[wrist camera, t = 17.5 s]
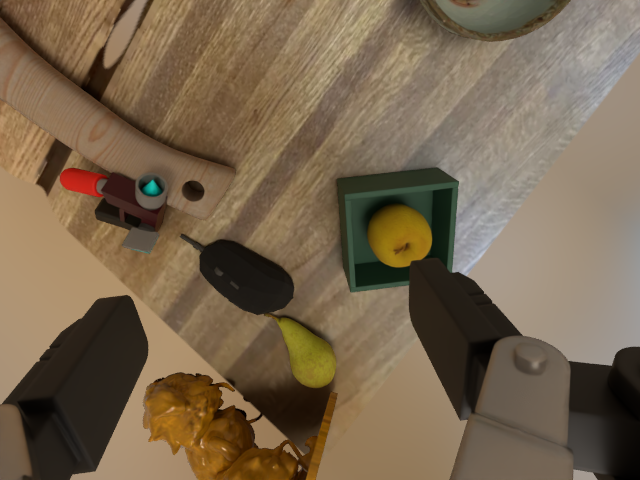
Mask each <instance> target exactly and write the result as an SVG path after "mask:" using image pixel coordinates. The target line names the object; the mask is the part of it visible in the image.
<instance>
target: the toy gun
mask: <svg viewBox="0 0 640 480" xmlns="http://www.w3.org/2000/svg"><path fill="white" fill-rule="evenodd" d="M60 182H61V184H62V185H63V187H65V188H66V189H68V190H71V191H75V192H80V193H84V194H88V195H93V196H97V197H102V196H104V197H105V198H103V199H102V200H101V202H100V203H99V205H98V206H97V208H96V209H95V215H96V218H97V219H98V220H100V221H103V222H106V223H110V224H113V225H116V226H119V227H122V228H125V229H128V230H130V232H129V233H128V235H127V237H126V239H125V240H124V242H123V244H122V246H123V247H125V248H129V249H132V250H136V251H141V252H145V253H150V252H151V250H152V248H153V246H154V245H155V243H156V241H157V239H158V237H159V234H158V233H157V232H158V230H159V228H160V226H161V224H162V223H163V217H164V211H165V207H166V203H167V198H168V196H166V195H167V189H168V184H167V182H166V180H165V179H164V178H163V177H162V176H161V175H159V174H157V173H153V172H148V173H144V174H142V175H140V176H139V177H138V178H137V180H136V182H134V181H132V180H129V179H127V178H125V177H123V176H120V175H118V174H116V173H114V172H112V174H111V175H110V177H109V178H107V176H105V175H103V174H99V173H94V172H90V171H85V170H81V169H76V168H68V169H66V170H64V171H63V172H62V173H61V175H60Z"/></svg>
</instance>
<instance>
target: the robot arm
mask: <svg viewBox="0 0 640 480" xmlns="http://www.w3.org/2000/svg"><path fill="white" fill-rule="evenodd" d="M409 312H410V318H411V321H412V324H413V327H414V329H415V331H416V333H417V335H418V337H419V339H420V341H421V343H422V345H423V347H424V349H425V351H426V353H427V355H428V357H429V359H430V361H431V363H432V365H433V367H434V369H435V371H436V373H437V375H438V377H439V379H440V381H441V383H442V385H443V387H444V389H445V391H446V393H447V395H448V397H449V399H450V401H451V403H452V405H453V407H454V409H455V411H456V413H457V415H458V417H459V419H460V420H468V421H467V424H466V427H465V430H464V434H463V437H462V441H461V444H460V447H459V450H458V453H457V457H456V460H455V463H454V467H453V470H452V473H451V476H450V480H573V469H576V470H582V471H587V472H593V473H594V475H595V476H596V478H597V479H598V480H640V347H628V348H624V349H621V350H620V351H618V352H617V353H616V355H615V358H614V361H613V364H612V366H608V365H599V364H589V363H580V362H572V361H568V360H567V359H566V357H565V356H564V355H563V354H562V353H561V352H560V351H559V350H558V349H556V348H555V347H553V346H552V345H550V344H548V343H546V342H544V341H541V340H539V339H536V338H531V337H526V336H523V335H522V334H521V333H520V332H519V331H518V330H517V329H516V328H515V326H514V325H513V324H512V323H511V322H510V321H509V320H508V319H507V317H506V316H505V315H504V314H503V313H502V312H501V311H500V310H499V309H498V307H497V306H496V305H495V304H493V303H492V300H491V299H490V298H489V297H488V296H487V295H486V294H484V291H483V290H482V289H481V288H480V287H479V286H478V285H477V283H476V282H475V281H474V280H472V279H470V278H468V277H466V276H465V275H463V274H461V273H459V272H455V273H450V272H449V270H448V269H447V268H446V267H445V265H444V264H443V263H442V262H441V260H440V259H439V258H430V259H422V260H414V261H411V263H410V271H409ZM147 356H148V341H147V337H146V334H145V332H144V329H143V326H142V323H141V321H140V318H139V315H138V312H137V310H136V307H135V304H134V302H133V300H132V299H131V297H130V296H128V295H124V296H117V297H108V298H100V299H98V300H96V301H95V302H94V304H93V305H92V306H91V308H90V309H89V310H88V311H87V313H86V314H85V315H84V316H83V318H82V319H78V320H77V321H76V322H74V323H73V324H72V325H70V326H69V327H68V328H66V329H65V330H64V331H62V332H61V333H60V334H59V336H58V337H57V338H56V339H55V340H54V342H53V343H52V344H51V345H50V349H47V350H46V351H45V352H44V354H43V355H42V356H41V357H40V361H39V362H36V363H35V365H34V366H33V367H32V368H31V370H30V371H29V372H28V373H27V374H26V375H25V377H24V378H23V379H22V380H21V382H20V383H19V384H18V385H17V386H16V388H15V389H14V390H13V391H12V392H11V394H10V395H9V396H8V397H7V398H6V400H5V401H4V402H3V403H2V404H1V405H0V480H70V478H71V476H72V474H79V473H86V472H93V471H96V469H97V467H98V465H99V462H100V460H101V458H102V456H103V454H104V452H105V449H106V447H107V445H108V443H109V440H110V438H111V436H112V434H113V432H114V430H115V428H116V425H117V423H118V421H119V419H120V417H121V414H122V412H123V410H124V408H125V406H126V404H127V402H128V399H129V397H130V395H131V393H132V391H133V389H134V386H135V384H136V382H137V380H138V378H139V376H140V373H141V371H142V369H143V367H144V365H145V363H146V360H147Z"/></svg>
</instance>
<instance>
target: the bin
mask: <svg viewBox="0 0 640 480" xmlns="http://www.w3.org/2000/svg"><path fill="white" fill-rule="evenodd" d="M458 185H459V181H457V180H456V179H454V178H453V177H451V176H450V175H448V174H447V173H445V172H444V171H442V170H441V169H439V168H428V169H419V170H410V171H402V172H393V173H384V174H375V175H366V176H357V177H348V178H339V179H337V186H338V201H339V215H340V229H341V243H342V257H343V268H344V272H345V275H346V278H347V282H348V285H349V288H350V292H359V291H367V290H374V289H382V288H390V287H398V286H406V285H409V271H410V266H406V267H392V266H389V265H386V264H384V263H383V262H381V261H380V260H379V259H378V258H377V257H376V255H375V254H374V252H373V250H372V248H371V247H370V244H369V242H368V238H367V230H368V225H369V222H370V220H371V218H372V216H373V214H374V213H375V212H377V211H378V210H379V209H380V208H382V207H384V206H386V205H389V204H396V203H398V204H403V205H406V206H408V207H411V208H413V209H415V210H416V211H418V212H419V213H420V214H422V216H423V217H424V218H425V219H426V221H427V223H428V225H429V227H430V229H431V233H432V245H431V248H430V250H429V252H428V254H427V255H426V256H425V257H424V258H423V259H430V258H439V259H440V260H441V262H442V263H443V264H444V265H445V267H446V268H447V269H448V270H449V272H450V273H452V265H453V251H454V238H455V224H456V211H457V197H458ZM421 260H422V259H421Z"/></svg>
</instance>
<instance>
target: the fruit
mask: <svg viewBox="0 0 640 480" xmlns="http://www.w3.org/2000/svg"><path fill="white" fill-rule="evenodd" d="M264 316H268V317H272V318H273V319H275V320H276V321H277V322H278V325H279V327H280V328H281V330H282V335H283V338H284V341H285V343H286V345H287V348H288V350H289V355H290V365H291V370H292V373H293V375H294V376H295V378H296V379H297V380H298V381H299V382H300V383H302V384H303V385H305V386H308V387H311V388H320V387H323V386H326V385H328V384H329V383H330V382H331V381H332V379H333V377H334V374H335V370H336V357H335V354H334V351H333V349H332V347H331V346H330V345H329V344H328V343H327V342H326V341H325V340H323V339H321V338H319V337H317V336H315V335H314V334H312V333H311V332H310V331H309V330H307V329H306V328H304V327H303V326H302V325H300V324H298V323H297V322H295V321H293V320H291V319H289V318H280V319H278V318H276V317H275V316H273V315H271V314H269V313H265V314H264Z"/></svg>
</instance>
